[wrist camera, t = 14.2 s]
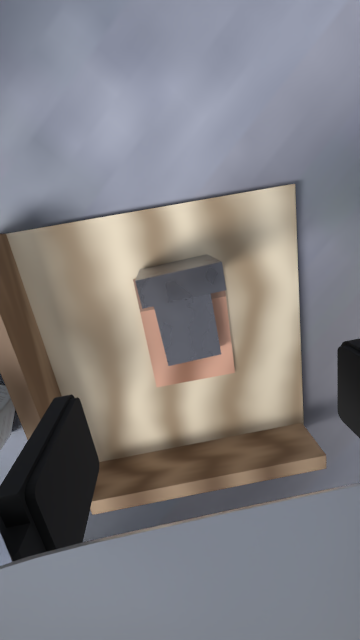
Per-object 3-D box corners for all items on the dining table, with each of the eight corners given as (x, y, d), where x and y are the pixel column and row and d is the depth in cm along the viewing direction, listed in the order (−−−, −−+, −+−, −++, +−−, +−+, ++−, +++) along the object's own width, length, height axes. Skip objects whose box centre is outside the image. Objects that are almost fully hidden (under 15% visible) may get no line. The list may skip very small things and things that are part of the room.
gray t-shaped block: (139, 268, 25) (135, 280, 19) (207, 254, 25) (221, 261, 19) (162, 360, 28) (164, 394, 22) (223, 346, 28) (240, 377, 22)
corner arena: (76, 472, 32) (60, 521, 27) (-9, 236, 24) (-55, 238, 19) (300, 429, 33) (328, 468, 28) (290, 185, 25) (327, 173, 20)
